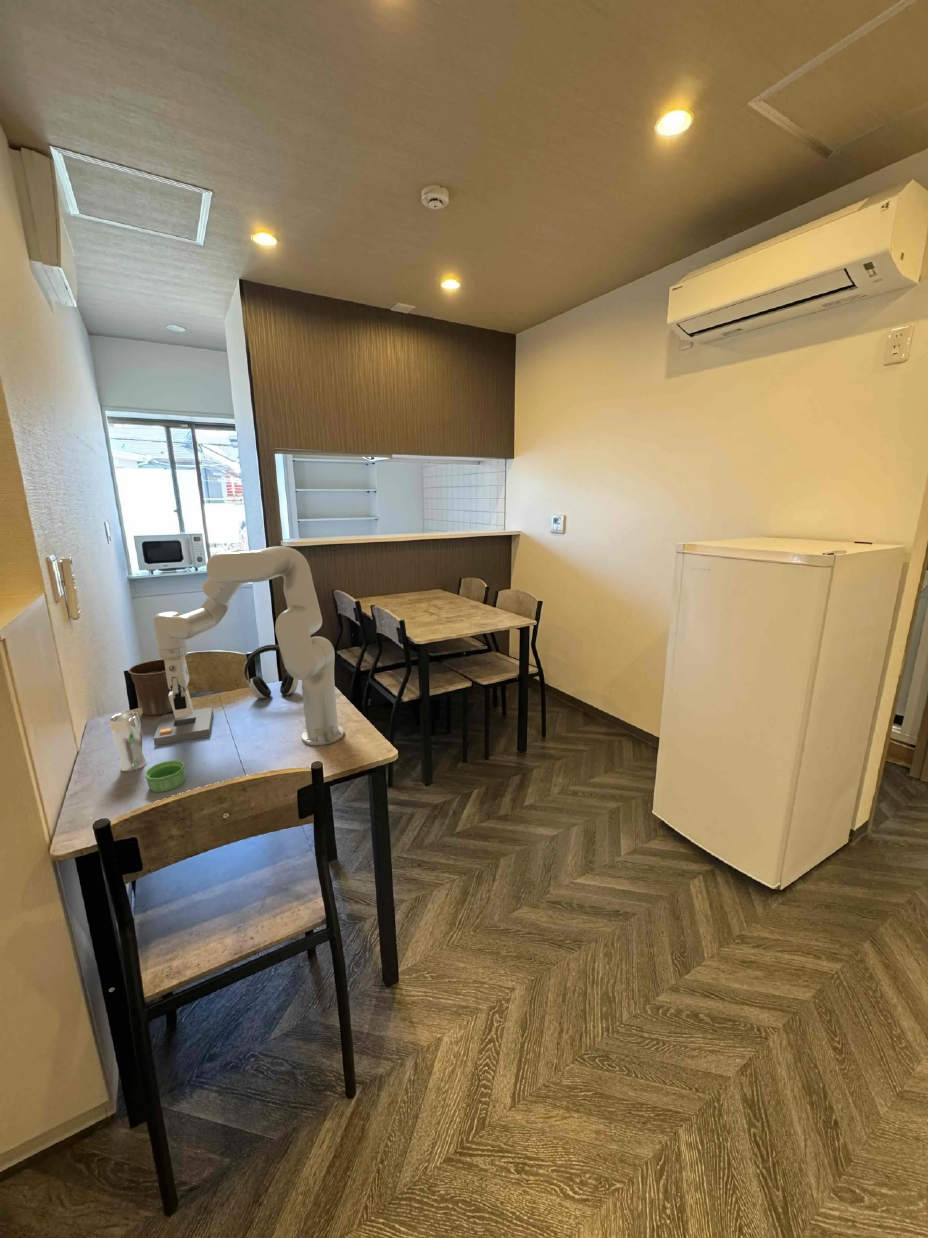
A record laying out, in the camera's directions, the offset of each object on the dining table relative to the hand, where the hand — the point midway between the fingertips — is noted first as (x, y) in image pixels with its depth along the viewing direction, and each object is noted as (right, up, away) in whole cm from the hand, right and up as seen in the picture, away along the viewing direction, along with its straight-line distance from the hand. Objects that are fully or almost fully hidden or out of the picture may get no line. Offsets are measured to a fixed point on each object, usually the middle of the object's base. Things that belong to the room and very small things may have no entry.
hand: (181, 705), depth 160 cm
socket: (0, -8, +2) cm, 8 cm away
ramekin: (+13, -16, -29) cm, 35 cm away
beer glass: (-2, -14, -20) cm, 24 cm away
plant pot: (-16, -4, +17) cm, 24 cm away
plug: (0, -3, +1) cm, 3 cm away
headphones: (+20, -1, +27) cm, 33 cm away
